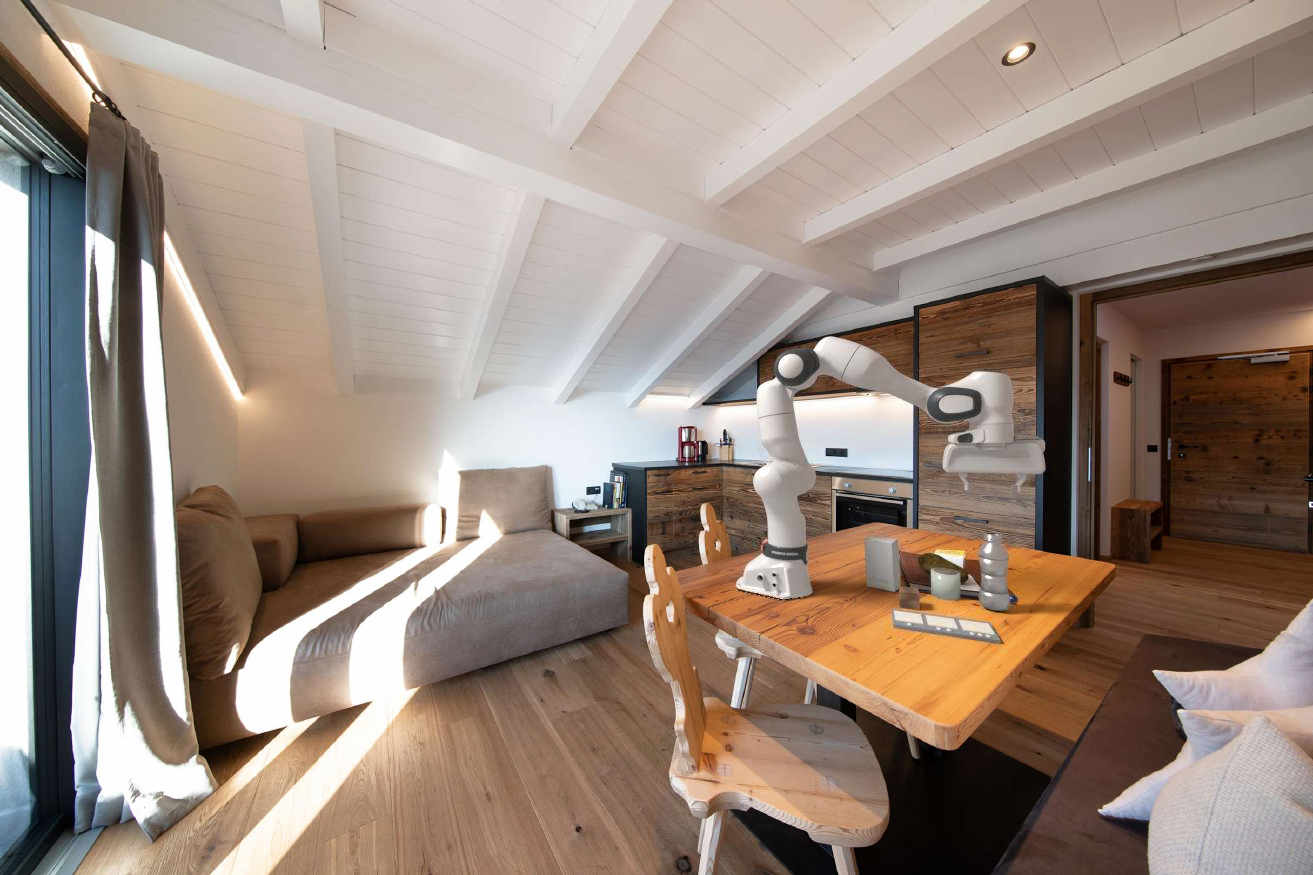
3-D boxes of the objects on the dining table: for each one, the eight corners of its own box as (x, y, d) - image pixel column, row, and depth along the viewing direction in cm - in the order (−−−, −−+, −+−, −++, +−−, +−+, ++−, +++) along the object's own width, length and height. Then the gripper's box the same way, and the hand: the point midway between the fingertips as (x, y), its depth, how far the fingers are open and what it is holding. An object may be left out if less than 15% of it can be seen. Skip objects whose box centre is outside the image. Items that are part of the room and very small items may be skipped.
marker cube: (900, 608, 118) (900, 591, 118) (899, 601, 122) (898, 585, 122) (919, 610, 116) (919, 593, 116) (917, 604, 120) (917, 588, 120)
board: (893, 627, 106) (893, 622, 106) (891, 611, 115) (891, 607, 115) (1000, 643, 97) (1000, 638, 97) (989, 625, 106) (989, 620, 106)
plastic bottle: (1016, 614, 112) (1015, 537, 111) (986, 613, 113) (985, 536, 113) (1001, 604, 118) (1001, 531, 118) (973, 603, 120) (972, 530, 119)
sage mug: (932, 598, 124) (932, 573, 124) (929, 589, 130) (929, 566, 130) (962, 602, 121) (962, 576, 121) (957, 593, 127) (957, 568, 127)
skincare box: (901, 587, 132) (900, 538, 132) (894, 593, 128) (893, 542, 128) (871, 581, 138) (871, 534, 138) (864, 586, 134) (863, 538, 134)
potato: (959, 589, 130) (959, 562, 130) (914, 577, 141) (913, 552, 140) (971, 583, 135) (971, 557, 134) (926, 572, 145) (926, 548, 145)
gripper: (1040, 434, 107) (1040, 491, 107) (941, 436, 116) (941, 488, 116) (1049, 435, 101) (1050, 495, 101) (944, 436, 110) (945, 491, 110)
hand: (991, 491), depth 109 cm, fingers open, 8 cm apart
